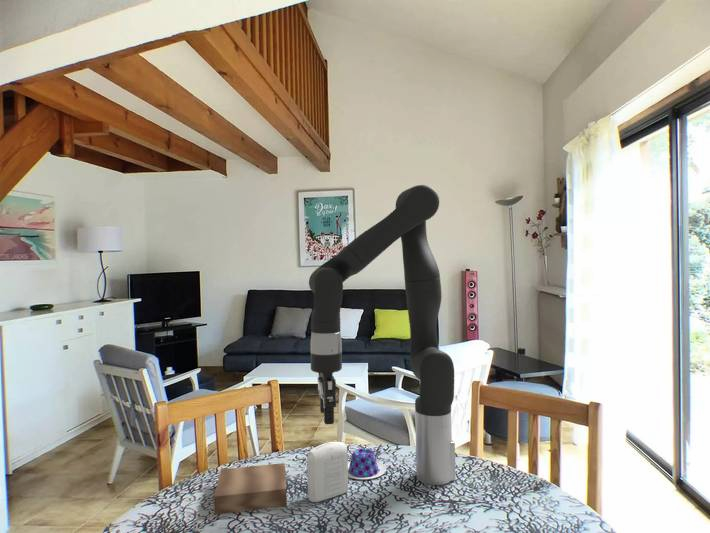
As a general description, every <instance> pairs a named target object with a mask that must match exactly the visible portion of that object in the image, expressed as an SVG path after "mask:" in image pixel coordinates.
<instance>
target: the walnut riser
mask: <svg viewBox="0 0 710 533" xmlns="http://www.w3.org/2000/svg"><path fill="white" fill-rule="evenodd" d="M285 465H286V463H285V462H282V463H272V464H270V463H269V464H262V465H261V464H260V465H252V466H250V465H249V466H241V467H230V468H221V469H220V471H219V476H218V480H217V484H216V488H215V491H214V496H213V507H214V508H213V511H214V514H215V515H222V514H223V513H224V514H228V513H229V514H232V513H241V512H249V511H258V510H266V509H274V508H284V507H287V506H288V505H287V504H288V503H287V501H288V500H287V498H288V496H287V477H286V475H287V474H286V466H285Z"/></svg>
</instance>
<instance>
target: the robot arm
mask: <svg viewBox="0 0 710 533" xmlns="http://www.w3.org/2000/svg"><path fill="white" fill-rule="evenodd" d="M439 207H440V196H439V195H438V192H437V191H436V190H435V189H434V188H433V187H432V186H430V185H428V184H427V185H426V184H418V185H415V186H412V187H410V188H407V189H405V190H403V191H401V193H400V194H399V195H398V197H397V198H396V201H395V209H394V210H393V211H392V212H390V213H389V214H388V215H387V216H385V217H384V218H383V219H382V220H379V221H378V222H377V223H376V224H374V225H372V226H370V227H369V228H368V229H367V230H365V231H364V232H362V233H360V235H358V236H356V237H355V238H354V239H353V240H352V241H351V242H349V243H347V245H346V246H344V247H343V248H342V249H341V250H340V251H339V252H338V253H337V254H336V255H335V256H333V257H331V258H330V259H328V260H327V261H325V262H324V263H323V264H321V265H319V267H317V268H315V270H313V271H312V273H311V274H310V276H309V278H308V279H309V280H308V285H309V288H310V290H311V292H312V293H313V294H314V297H313V298H314V301H313V303H314V307H313V309H312V312H311V316H310V317H311V320H310V321H311V323H310V325H311V327H310V328H311V329H310V330H311V334H310V335H311V336H310V370H311V372H314V373H318V376H317V390H318V396H319V402H320V403H319V409H320V410H319V411H320V413H321V414H323V417H324V418H323V423H324V425H333V424H335V408H336V407H337V402H336V400H337V398H336V397H337V396H336V395H337V394H336V385H337V382H336V381H337V380H336V378H335V376H333V374H334V373H337V372H340V371H341V370H342V369H343V352H342V350H343V347H342V346H343V343H342V342H343V341H342V334H341V308H342V303H343V294H344V284H343V283H344V282H345V281H347V280H348V279H349V278H350V277H352V276H355V275H357V274H358V273H360V272H362V271H363V270H364V269H365V268H366V267H367V266H369V264H371V263H372V262H373V261H374V260H375V259H377V257H379V256H380V255H382V253H383V252H384V251H386V250H387V249H388V248H389V247H390V246H391V245H393V243H394V242H396V241H397V240H398V239H400V241H401V248H402V249H401V250H402V262H403V273H404V275H403V276H404V288H405V297H406V304H407V305H406V306H407V313H408V314H407V315H408V322H409V323H408V324H409V333H410V334H409V335H410V336H409V337H410V340H409V342H410V345H409V346H410V347H409V348H410V349H409V350H410V351H409V353H410V355H409V361H410V363H409V365H410V370H411V371H412V374H413V375H414V376H415V377H416V378H417V379H418V380H419V396H417V397H416V398H415V400H414V401H415V402H414V420H415V422H414V424H415V425H414V426H415V463H416V464H415V469H416V478H417V480H418V481H419V482H421V483H424V484H426V485H433V486H441V485H446V484H449V483H450V482H452V481H456V480H457V479H456V443H455V441H454V440H453V437H452V435H453V434H452V433H453V432H452V405H453V402H454V397H455V365H454V361H453V358H451V356H450V355H449V354H448V353H447V352H445V351H443V350H441V349H440V348H439V347H440V346H439V343H438V334H437V321H438V316H439V313H440V309H441V303H442V298H443V297H442V296H443V295H442V284H441V275H440V273H441V272H440V270H439V266H438V263H437V261H436V259H435V257H434V254H433V252H432V250H431V248H430V245H429V241H428V236H427V221H428V220H430V219H431V218H433V217H434V216H435V215H436V213H437V212H438V209H439ZM330 399H331V401H330Z"/></svg>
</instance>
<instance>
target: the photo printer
mask: <svg viewBox="0 0 710 533" xmlns="http://www.w3.org/2000/svg"><path fill="white" fill-rule="evenodd" d="M348 454H349V452H348V447H347V445H346V443H344V442H341V441H331V442H325V443H322V444H320V445H317V446H315V447H313V448H312V449H311V450H309V451H308V453H307V457H306V458H307V461H306V462H307V498H308V499H307V500H308V501H310V502H311V503H318V502H322V501H325V500H327V499H332V498H334V497H338V496H341V495H343V494H345V493H348V492H349V477H348V472H349V470H348V462H349V460H348V458H349V457H348V456H349V455H348Z"/></svg>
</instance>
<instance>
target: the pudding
mask: <svg viewBox="0 0 710 533" xmlns="http://www.w3.org/2000/svg"><path fill="white" fill-rule="evenodd" d="M378 468H379V469H380V471H379V469H378ZM386 470H387V468H386V465H385V464H383V463H382V462H380V461H377V458H376V455H375V451H373V450H372V449H370V448H358V449H355V450H354V451H353V452H352V454H351V458H350V461H348V478H352V479H356V480H371V479H375V478H379V477H381V476H382V475H384V474H385V473H386Z"/></svg>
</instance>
